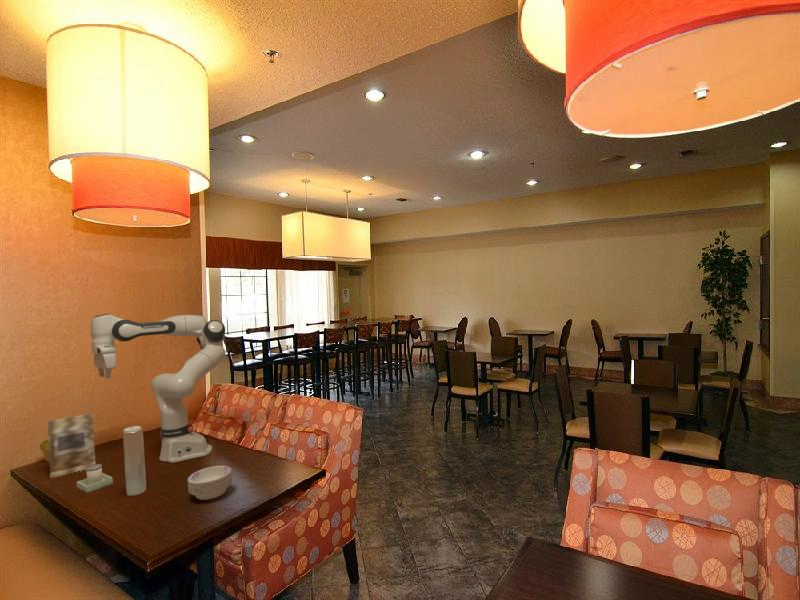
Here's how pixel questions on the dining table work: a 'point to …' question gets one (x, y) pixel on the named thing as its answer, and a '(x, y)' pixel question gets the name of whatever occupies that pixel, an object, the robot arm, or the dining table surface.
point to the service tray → (83, 484)
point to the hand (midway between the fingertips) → (105, 377)
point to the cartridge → (94, 474)
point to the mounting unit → (71, 444)
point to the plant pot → (45, 449)
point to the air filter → (134, 460)
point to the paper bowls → (210, 482)
